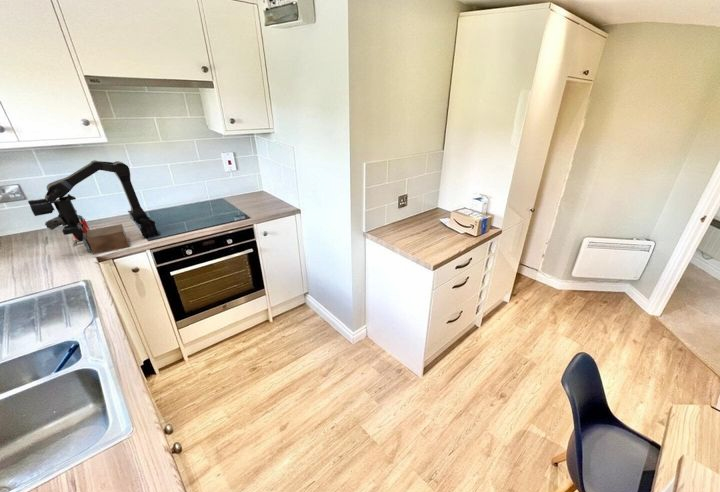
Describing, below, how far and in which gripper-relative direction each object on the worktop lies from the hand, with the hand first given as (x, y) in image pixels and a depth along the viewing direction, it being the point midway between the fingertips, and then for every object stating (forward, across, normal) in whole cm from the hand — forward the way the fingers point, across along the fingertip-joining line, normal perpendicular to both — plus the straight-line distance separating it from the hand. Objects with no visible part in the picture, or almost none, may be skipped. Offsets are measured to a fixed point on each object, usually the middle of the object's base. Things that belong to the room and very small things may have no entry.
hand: (81, 240), depth 154 cm
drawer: (+5, 0, +5) cm, 7 cm away
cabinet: (+6, 0, +10) cm, 11 cm away
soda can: (+6, -20, -1) cm, 20 cm away
